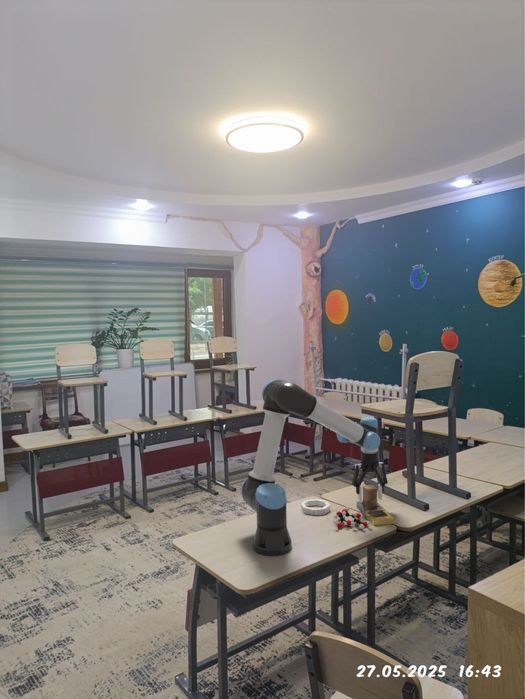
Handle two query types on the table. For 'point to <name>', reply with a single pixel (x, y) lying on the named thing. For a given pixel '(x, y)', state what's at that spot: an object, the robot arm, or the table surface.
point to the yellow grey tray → (376, 514)
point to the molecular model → (354, 515)
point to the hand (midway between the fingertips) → (370, 499)
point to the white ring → (317, 510)
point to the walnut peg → (369, 496)
